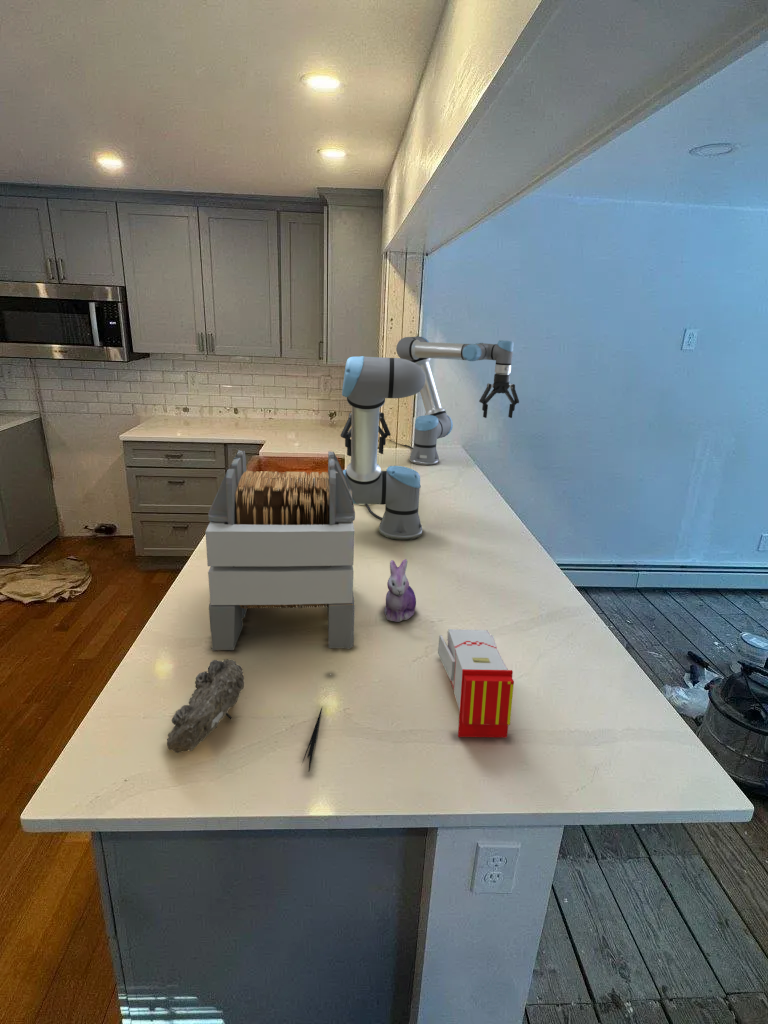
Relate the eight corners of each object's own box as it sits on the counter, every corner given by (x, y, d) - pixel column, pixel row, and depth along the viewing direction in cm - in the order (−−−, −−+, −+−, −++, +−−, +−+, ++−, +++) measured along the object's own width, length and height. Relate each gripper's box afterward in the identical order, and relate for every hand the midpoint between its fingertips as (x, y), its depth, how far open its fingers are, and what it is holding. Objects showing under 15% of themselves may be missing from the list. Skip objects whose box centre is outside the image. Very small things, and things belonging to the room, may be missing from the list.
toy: (488, 613, 130) (523, 677, 101) (484, 667, 133) (517, 744, 104) (435, 612, 130) (455, 676, 101) (432, 666, 133) (451, 743, 103)
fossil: (192, 660, 117) (244, 628, 112) (224, 691, 120) (276, 661, 115) (142, 746, 98) (202, 712, 93) (182, 779, 101) (242, 748, 96)
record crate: (231, 583, 159) (223, 441, 145) (347, 582, 163) (350, 443, 149) (209, 653, 127) (196, 479, 114) (354, 649, 131) (359, 481, 117)
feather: (331, 679, 122) (336, 673, 122) (307, 777, 96) (313, 769, 95) (324, 675, 122) (329, 669, 121) (298, 772, 95) (304, 764, 95)
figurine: (392, 627, 141) (395, 572, 136) (374, 608, 149) (376, 556, 144) (425, 619, 145) (429, 566, 140) (405, 601, 154) (408, 550, 149)
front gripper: (392, 398, 225) (389, 450, 232) (332, 399, 215) (332, 453, 222) (400, 401, 219) (397, 454, 226) (339, 402, 209) (338, 458, 216)
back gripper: (481, 374, 268) (476, 418, 275) (529, 375, 274) (523, 418, 281) (475, 372, 275) (471, 415, 282) (522, 373, 281) (517, 416, 288)
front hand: (365, 454), depth 224 cm, fingers open, 13 cm apart
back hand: (497, 417), depth 282 cm, fingers open, 13 cm apart
